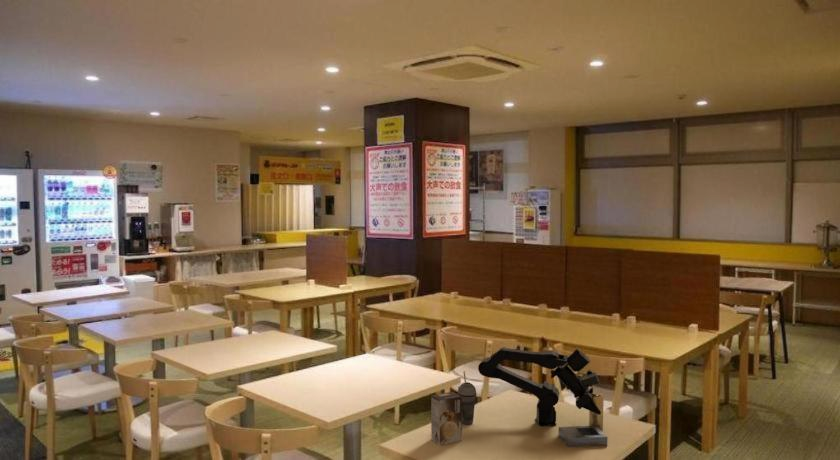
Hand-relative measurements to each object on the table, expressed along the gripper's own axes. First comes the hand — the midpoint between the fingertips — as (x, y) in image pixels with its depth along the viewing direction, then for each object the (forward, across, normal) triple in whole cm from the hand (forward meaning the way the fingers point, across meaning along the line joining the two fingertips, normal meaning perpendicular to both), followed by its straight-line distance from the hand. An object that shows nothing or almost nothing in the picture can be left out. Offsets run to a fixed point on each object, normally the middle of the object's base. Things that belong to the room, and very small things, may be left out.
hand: (600, 411), depth 222 cm
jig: (0, -13, +9) cm, 15 cm away
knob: (+4, 0, +6) cm, 7 cm away
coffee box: (-32, -27, +42) cm, 59 cm away
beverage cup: (-29, -9, +39) cm, 50 cm away
